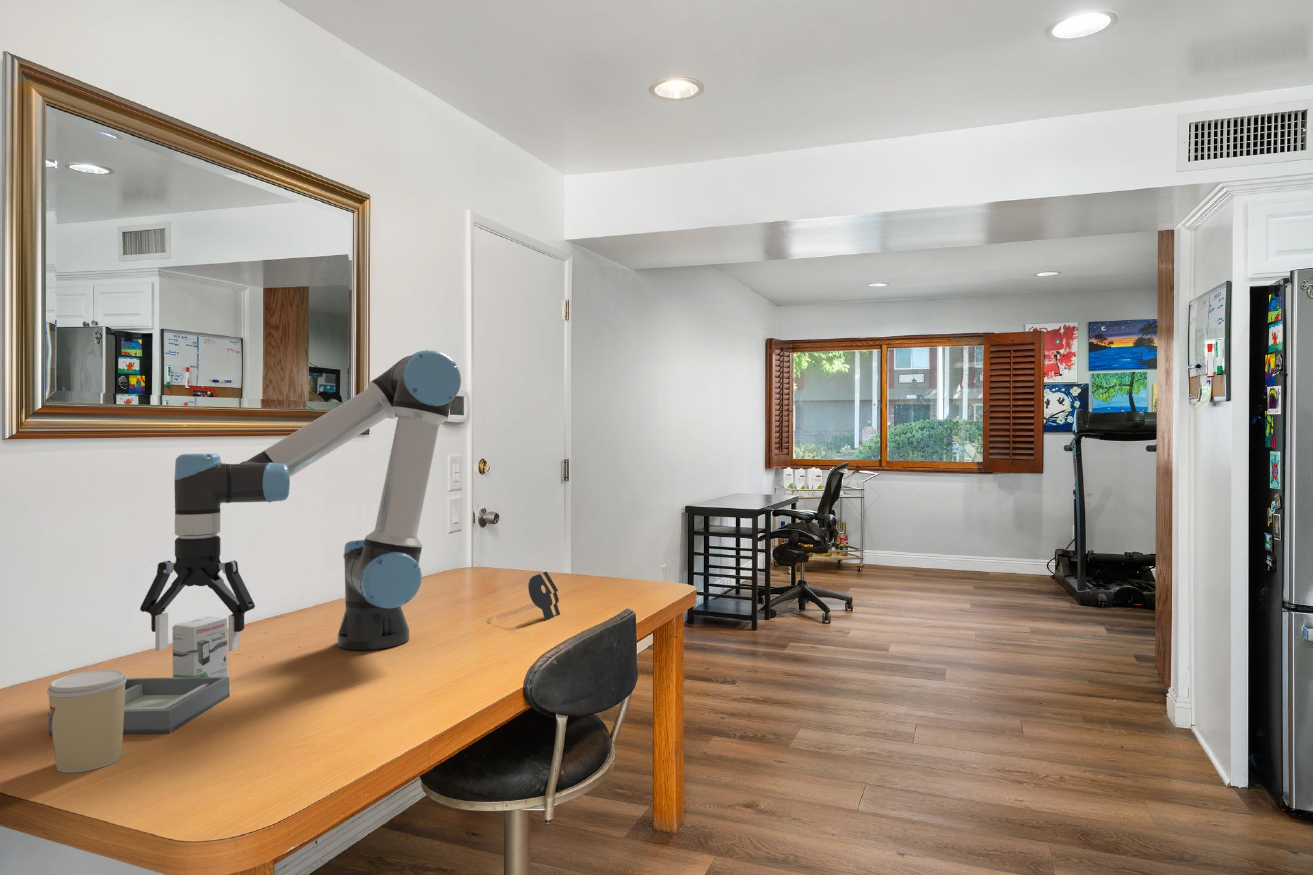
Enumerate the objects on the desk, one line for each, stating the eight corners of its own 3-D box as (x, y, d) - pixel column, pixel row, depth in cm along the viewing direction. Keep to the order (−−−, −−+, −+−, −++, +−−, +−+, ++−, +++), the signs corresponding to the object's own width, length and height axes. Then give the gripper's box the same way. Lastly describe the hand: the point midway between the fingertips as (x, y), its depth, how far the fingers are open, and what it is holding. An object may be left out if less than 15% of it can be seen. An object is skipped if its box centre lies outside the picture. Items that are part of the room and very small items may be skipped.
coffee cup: (75, 750, 123) (73, 670, 123) (141, 747, 124) (139, 667, 124) (33, 776, 114) (31, 689, 114) (105, 773, 114) (103, 686, 114)
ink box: (193, 691, 151) (192, 626, 151) (171, 689, 152) (170, 625, 152) (229, 677, 159) (228, 616, 159) (208, 676, 161) (207, 615, 160)
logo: (589, 604, 208) (575, 561, 209) (542, 624, 193) (526, 577, 194) (541, 619, 217) (528, 578, 218) (493, 639, 202) (478, 595, 203)
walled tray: (229, 696, 148) (229, 676, 148) (169, 732, 130) (169, 710, 130) (123, 697, 148) (122, 678, 148) (48, 734, 130) (48, 712, 130)
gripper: (273, 533, 159) (273, 643, 159) (144, 533, 159) (144, 643, 159) (254, 538, 152) (254, 654, 152) (118, 538, 152) (118, 654, 152)
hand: (198, 649), depth 155 cm, fingers open, 13 cm apart
